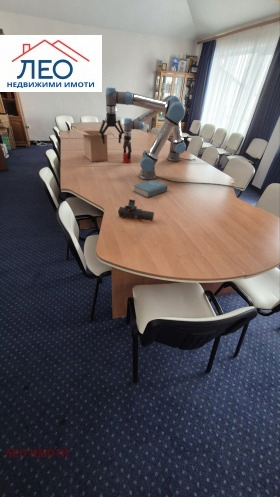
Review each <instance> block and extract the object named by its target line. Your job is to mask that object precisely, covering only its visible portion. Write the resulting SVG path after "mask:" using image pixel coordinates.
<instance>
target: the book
mask: <svg viewBox="0 0 280 497" xmlns="http://www.w3.org/2000/svg"><path fill="white" fill-rule="evenodd" d="M168 187H169V186H168V184H166V183H164V182H160V181H159V180H156V179H153V180H146V181H143V182H140V183H137V184H134V185H133V193H135V194H138V195H140V196H142V197H145V198H150V197H153V196H156V195H159V194H161V193H164V192H167V191H168Z"/></svg>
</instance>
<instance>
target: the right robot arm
mask: <svg viewBox="0 0 280 497" xmlns="http://www.w3.org/2000/svg"><path fill="white" fill-rule="evenodd" d="M161 100H162V101H168V100H169V101H178V102H181V100H180V98H179V97H178V96H176V95H171V94H170V95H167V96H166V97H164V98H163V99H161ZM160 113H161V112H159V111H155V110H151V109H148V110H147V111H146V112H144V113H142V114H141V115H139V116H138V117H136V118H134V119H132V118H129V117H125V118H124V121H123V131H124V133H123V146H122V148H123V153H128V159H130V158H131V159H132V151H133V150H132V142H131V140H132V131H133V130H136V131H137V130H138V131H143V130H144V124H145V123H146V122H148V121H150V120H151V119H152V118H154V117H156V116H158V115H159V114H160ZM172 137H173V138H171V139H170V145H169V152H168V154H167V156H166V159H167V160H168V161H170V162H180V161H181V160H185V161H196V159H195V158H192V159H189V158H183V157H181V155H182V154H184V153H185V151H186V149H187V146H186V143H185V140H184V138H183V135H182V128H181V122H180V123H179V124H178V126H177V127H174V129H173V131H172Z"/></svg>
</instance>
